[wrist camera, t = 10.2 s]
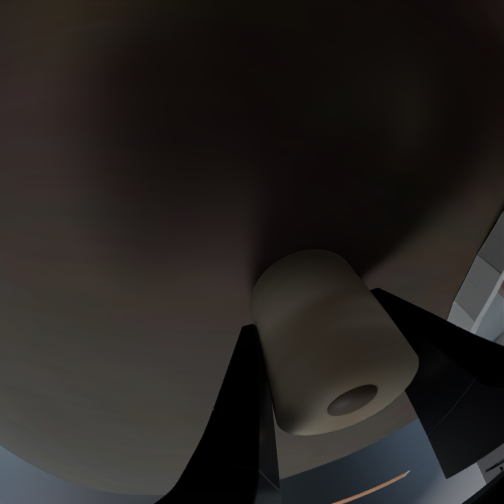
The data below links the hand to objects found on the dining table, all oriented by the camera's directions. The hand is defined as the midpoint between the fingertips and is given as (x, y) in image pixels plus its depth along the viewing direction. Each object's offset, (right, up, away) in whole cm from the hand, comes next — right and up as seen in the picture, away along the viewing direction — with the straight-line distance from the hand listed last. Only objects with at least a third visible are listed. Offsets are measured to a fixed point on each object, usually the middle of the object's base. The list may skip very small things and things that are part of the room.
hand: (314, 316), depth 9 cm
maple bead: (0, 0, +1) cm, 1 cm away
